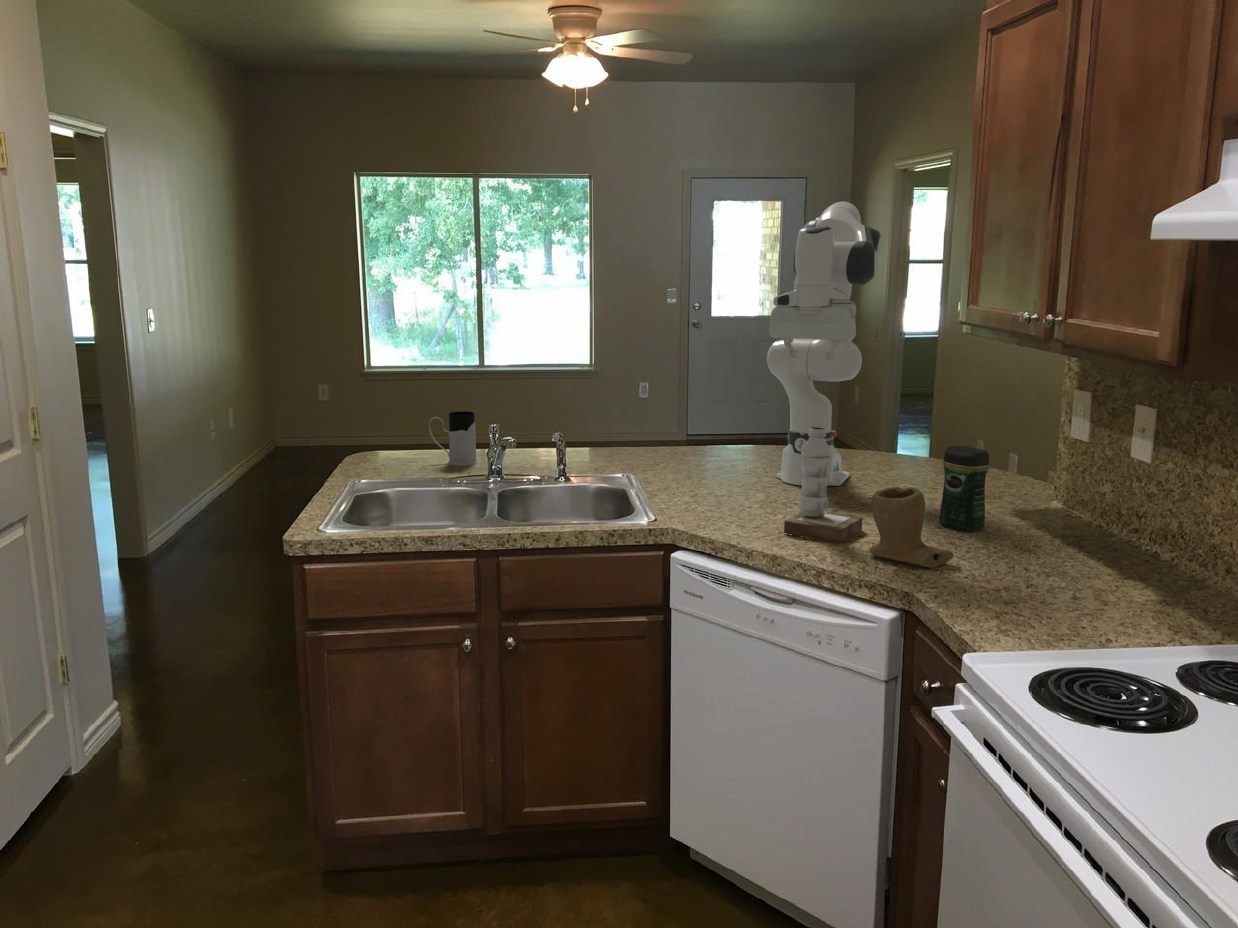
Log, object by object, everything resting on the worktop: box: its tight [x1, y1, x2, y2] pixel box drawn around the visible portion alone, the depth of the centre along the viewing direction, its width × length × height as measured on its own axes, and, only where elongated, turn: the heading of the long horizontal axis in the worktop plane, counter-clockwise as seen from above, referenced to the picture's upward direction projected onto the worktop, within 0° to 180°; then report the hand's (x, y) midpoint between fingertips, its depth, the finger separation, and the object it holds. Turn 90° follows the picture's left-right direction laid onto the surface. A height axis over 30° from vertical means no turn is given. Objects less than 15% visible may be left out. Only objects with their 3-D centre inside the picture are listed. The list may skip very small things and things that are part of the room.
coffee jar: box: [938, 445, 990, 532], centre depth 221 cm, size 10×8×19 cm
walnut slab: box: [783, 511, 863, 544], centre depth 217 cm, size 13×13×3 cm
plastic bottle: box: [797, 427, 831, 517], centre depth 216 cm, size 6×7×20 cm
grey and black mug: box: [428, 410, 479, 467], centre depth 290 cm, size 9×14×15 cm, turn 89°
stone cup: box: [868, 486, 954, 569], centre depth 195 cm, size 15×12×15 cm
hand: (810, 359), depth 225 cm, fingers open, 8 cm apart
